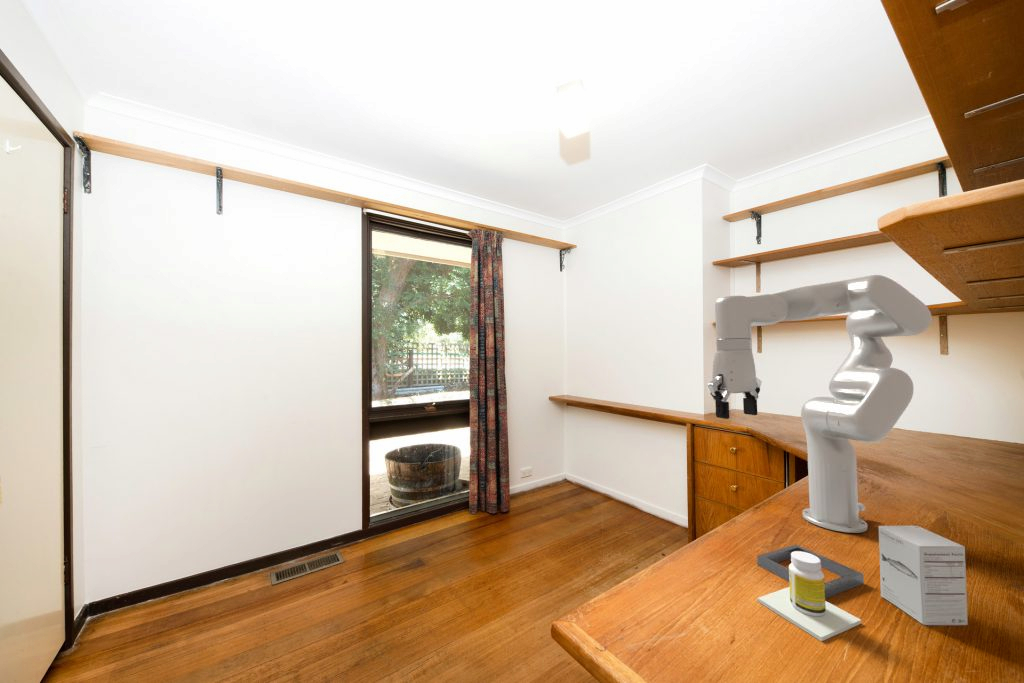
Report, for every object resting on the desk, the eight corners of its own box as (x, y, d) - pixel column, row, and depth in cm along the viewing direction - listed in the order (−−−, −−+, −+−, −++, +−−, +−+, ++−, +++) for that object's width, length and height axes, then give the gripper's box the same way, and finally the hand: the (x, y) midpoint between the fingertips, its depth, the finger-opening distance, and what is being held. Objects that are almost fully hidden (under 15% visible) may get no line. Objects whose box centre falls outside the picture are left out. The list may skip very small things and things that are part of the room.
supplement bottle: (833, 617, 61) (831, 564, 62) (804, 617, 62) (802, 564, 62) (810, 598, 66) (808, 549, 67) (783, 598, 66) (781, 549, 67)
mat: (795, 587, 70) (795, 584, 70) (861, 623, 61) (861, 619, 61) (757, 601, 67) (757, 597, 67) (821, 641, 57) (821, 637, 57)
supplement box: (878, 596, 67) (875, 524, 68) (921, 596, 67) (918, 524, 68) (922, 626, 60) (918, 545, 60) (971, 626, 60) (966, 545, 60)
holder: (796, 552, 82) (795, 544, 82) (863, 583, 71) (863, 574, 71) (757, 564, 78) (757, 555, 78) (823, 599, 67) (822, 589, 67)
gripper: (743, 346, 100) (746, 411, 100) (695, 347, 94) (698, 417, 93) (772, 345, 93) (775, 415, 93) (722, 346, 87) (725, 421, 86)
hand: (736, 416), depth 93 cm, fingers open, 9 cm apart
